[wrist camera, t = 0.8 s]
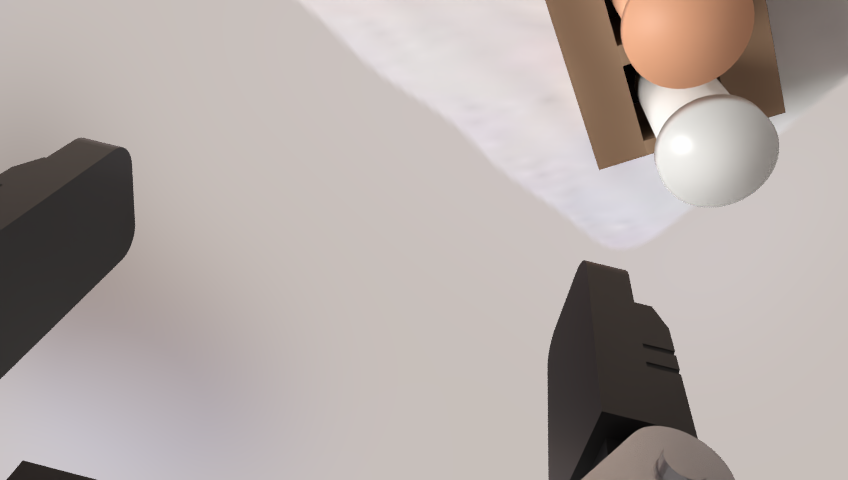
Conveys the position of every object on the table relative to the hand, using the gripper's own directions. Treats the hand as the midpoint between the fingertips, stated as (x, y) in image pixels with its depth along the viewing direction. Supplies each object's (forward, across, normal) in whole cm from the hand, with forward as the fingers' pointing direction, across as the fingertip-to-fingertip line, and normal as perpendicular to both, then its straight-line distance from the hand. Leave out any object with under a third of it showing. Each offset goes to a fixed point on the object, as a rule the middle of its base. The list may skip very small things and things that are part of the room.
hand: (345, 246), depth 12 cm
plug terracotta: (+21, -7, -3) cm, 22 cm away
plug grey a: (+21, -10, +1) cm, 23 cm away
